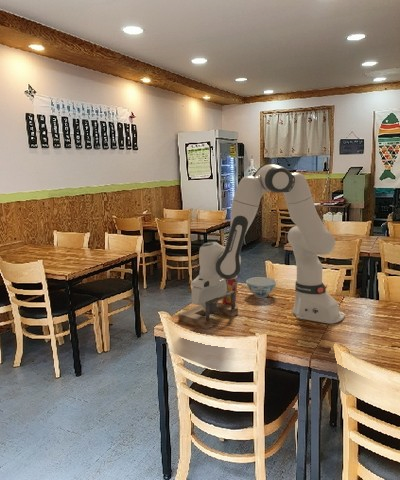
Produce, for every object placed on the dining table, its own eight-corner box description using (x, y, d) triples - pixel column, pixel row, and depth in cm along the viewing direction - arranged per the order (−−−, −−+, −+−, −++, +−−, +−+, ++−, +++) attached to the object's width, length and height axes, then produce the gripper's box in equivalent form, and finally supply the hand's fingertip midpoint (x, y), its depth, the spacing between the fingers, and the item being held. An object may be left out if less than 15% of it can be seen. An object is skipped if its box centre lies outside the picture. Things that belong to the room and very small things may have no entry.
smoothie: (240, 301, 201) (239, 262, 197) (234, 306, 193) (233, 266, 189) (224, 299, 204) (223, 260, 200) (218, 304, 197) (217, 264, 193)
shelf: (237, 313, 184) (237, 290, 182) (206, 329, 168) (205, 303, 166) (211, 306, 195) (210, 283, 193) (178, 320, 179) (177, 295, 176)
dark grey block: (218, 312, 180) (218, 300, 179) (211, 315, 177) (211, 303, 176) (209, 309, 184) (209, 297, 183) (202, 312, 180) (202, 300, 179)
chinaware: (280, 293, 211) (280, 279, 209) (269, 302, 198) (269, 287, 197) (253, 289, 219) (253, 275, 217) (241, 297, 206) (241, 283, 205)
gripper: (219, 272, 187) (219, 301, 190) (188, 282, 172) (189, 313, 175) (230, 274, 183) (230, 303, 185) (199, 285, 168) (200, 317, 171)
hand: (210, 308), depth 180 cm, fingers closed on dark grey block, 5 cm apart
